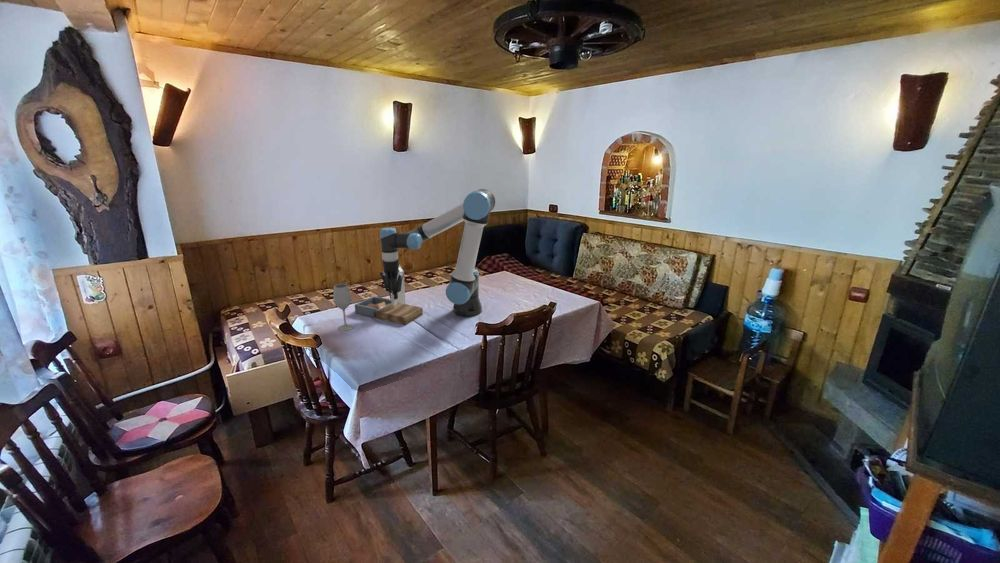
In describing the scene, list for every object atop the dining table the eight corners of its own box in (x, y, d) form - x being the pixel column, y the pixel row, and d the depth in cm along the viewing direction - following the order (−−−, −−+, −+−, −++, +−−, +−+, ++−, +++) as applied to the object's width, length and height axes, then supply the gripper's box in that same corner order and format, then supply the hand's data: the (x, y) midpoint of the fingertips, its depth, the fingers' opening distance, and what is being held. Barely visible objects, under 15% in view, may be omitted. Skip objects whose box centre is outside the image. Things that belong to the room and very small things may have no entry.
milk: (405, 304, 215) (403, 265, 208) (395, 306, 211) (393, 267, 204) (400, 300, 219) (397, 262, 212) (390, 303, 215) (387, 264, 208)
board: (422, 314, 201) (422, 307, 200) (406, 325, 189) (405, 317, 188) (394, 308, 208) (393, 301, 207) (376, 318, 196) (375, 311, 194)
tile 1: (370, 303, 208) (371, 306, 208) (364, 306, 203) (364, 310, 204) (378, 305, 206) (378, 308, 206) (371, 308, 201) (372, 311, 202)
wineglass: (338, 332, 180) (332, 289, 174) (336, 325, 187) (331, 284, 180) (355, 329, 184) (350, 287, 177) (353, 323, 190) (348, 282, 183)
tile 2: (385, 305, 203) (384, 301, 203) (379, 308, 199) (377, 304, 199) (379, 307, 206) (377, 303, 206) (372, 310, 201) (371, 306, 201)
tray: (393, 308, 208) (393, 299, 206) (375, 318, 196) (374, 309, 194) (374, 304, 213) (373, 296, 211) (355, 313, 201) (354, 304, 199)
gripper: (406, 259, 192) (409, 304, 199) (384, 256, 197) (388, 300, 204) (396, 263, 185) (400, 309, 193) (374, 260, 190) (379, 305, 198)
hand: (394, 304), depth 198 cm, fingers closed
